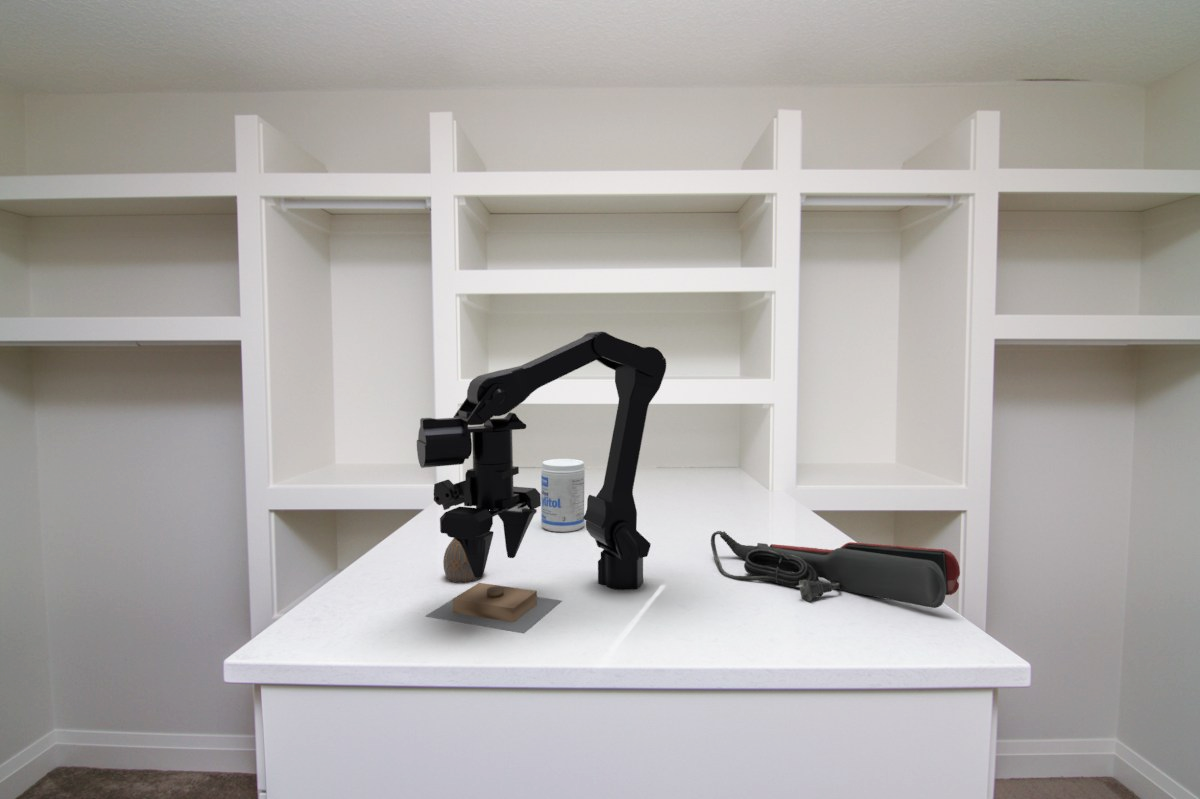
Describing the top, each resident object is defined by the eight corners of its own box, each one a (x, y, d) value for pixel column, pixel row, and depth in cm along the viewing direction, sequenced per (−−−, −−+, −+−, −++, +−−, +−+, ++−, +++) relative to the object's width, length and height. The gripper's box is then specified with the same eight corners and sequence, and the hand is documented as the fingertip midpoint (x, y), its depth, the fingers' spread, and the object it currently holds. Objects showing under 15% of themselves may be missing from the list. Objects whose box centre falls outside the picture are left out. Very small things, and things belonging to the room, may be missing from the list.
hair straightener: (727, 551, 123) (727, 510, 122) (960, 603, 96) (962, 550, 95) (682, 572, 111) (682, 526, 110) (933, 638, 84) (935, 577, 84)
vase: (476, 591, 102) (474, 538, 102) (436, 588, 104) (435, 536, 103) (491, 576, 109) (490, 526, 109) (454, 574, 111) (453, 524, 110)
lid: (537, 604, 94) (536, 585, 94) (513, 622, 88) (513, 602, 87) (479, 595, 98) (479, 577, 98) (453, 612, 91) (452, 593, 91)
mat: (562, 607, 95) (562, 600, 95) (524, 640, 84) (524, 633, 84) (472, 593, 101) (471, 587, 101) (425, 622, 90) (424, 616, 90)
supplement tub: (533, 529, 138) (532, 463, 137) (555, 519, 147) (555, 457, 146) (571, 535, 134) (570, 466, 133) (592, 524, 142) (591, 460, 141)
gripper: (480, 449, 103) (482, 543, 104) (405, 469, 86) (409, 582, 87) (541, 453, 99) (543, 550, 100) (475, 474, 82) (478, 592, 83)
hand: (495, 567), depth 92 cm, fingers open, 9 cm apart
